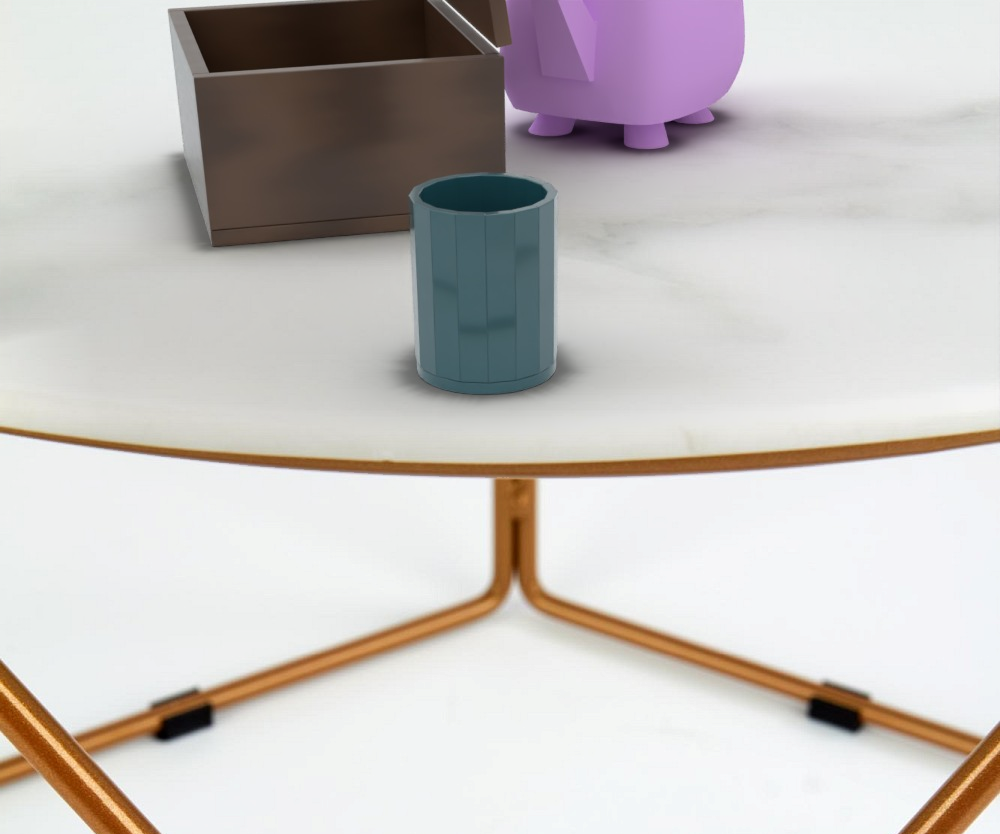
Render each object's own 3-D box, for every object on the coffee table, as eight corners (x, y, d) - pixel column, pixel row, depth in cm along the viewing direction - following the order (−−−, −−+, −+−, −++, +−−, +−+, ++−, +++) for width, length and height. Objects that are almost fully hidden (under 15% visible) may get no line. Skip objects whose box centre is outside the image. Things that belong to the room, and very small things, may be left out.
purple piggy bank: (603, 78, 110) (607, -143, 103) (784, 99, 105) (801, -133, 98) (439, 153, 96) (430, -98, 89) (639, 182, 91) (647, -83, 83)
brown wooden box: (211, 247, 83) (193, 77, 78) (184, 157, 96) (167, 8, 92) (506, 222, 85) (504, 56, 81) (439, 138, 99) (434, -8, 94)
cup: (432, 401, 66) (425, 220, 62) (405, 350, 71) (397, 178, 67) (571, 386, 67) (573, 207, 63) (536, 337, 72) (536, 167, 68)
